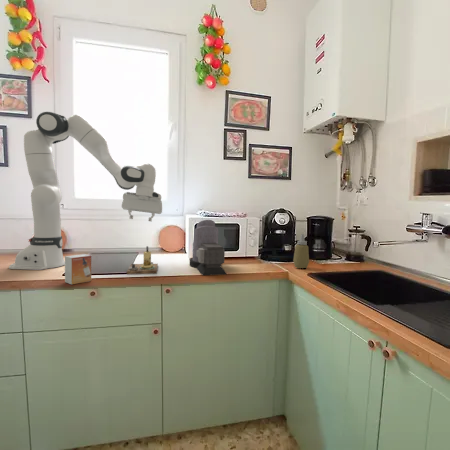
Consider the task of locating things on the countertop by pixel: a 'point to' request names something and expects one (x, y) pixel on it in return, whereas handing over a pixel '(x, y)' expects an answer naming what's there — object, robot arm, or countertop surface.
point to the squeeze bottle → (301, 253)
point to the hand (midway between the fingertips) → (140, 220)
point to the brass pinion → (147, 260)
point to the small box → (77, 268)
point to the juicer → (207, 249)
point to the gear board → (141, 269)
